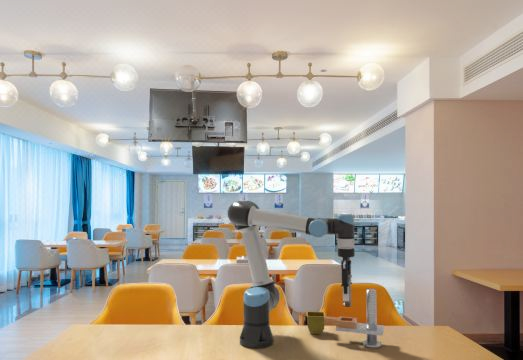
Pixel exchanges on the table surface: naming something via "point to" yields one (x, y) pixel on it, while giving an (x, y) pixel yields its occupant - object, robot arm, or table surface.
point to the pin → (348, 303)
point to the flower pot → (315, 322)
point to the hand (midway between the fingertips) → (346, 299)
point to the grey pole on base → (352, 326)
